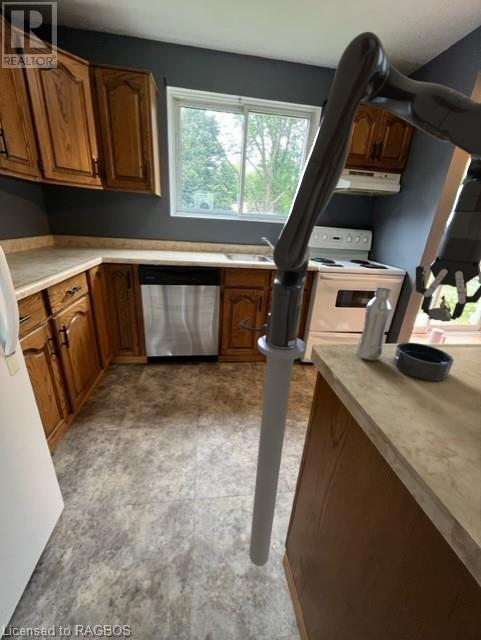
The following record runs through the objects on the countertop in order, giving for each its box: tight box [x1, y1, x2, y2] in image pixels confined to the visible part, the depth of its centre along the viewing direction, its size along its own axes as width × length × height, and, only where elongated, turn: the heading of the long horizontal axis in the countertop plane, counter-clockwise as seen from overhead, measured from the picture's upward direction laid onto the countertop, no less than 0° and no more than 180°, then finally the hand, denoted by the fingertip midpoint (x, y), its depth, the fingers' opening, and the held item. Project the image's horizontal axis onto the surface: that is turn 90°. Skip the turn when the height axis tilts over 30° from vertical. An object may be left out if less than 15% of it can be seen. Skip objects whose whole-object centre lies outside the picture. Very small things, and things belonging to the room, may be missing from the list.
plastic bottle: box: [356, 287, 394, 361], centre depth 74 cm, size 6×7×20 cm
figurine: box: [426, 295, 453, 323], centre depth 60 cm, size 5×4×6 cm
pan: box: [392, 342, 455, 382], centre depth 71 cm, size 12×12×5 cm
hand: (439, 315), depth 61 cm, fingers closed on figurine, 4 cm apart
